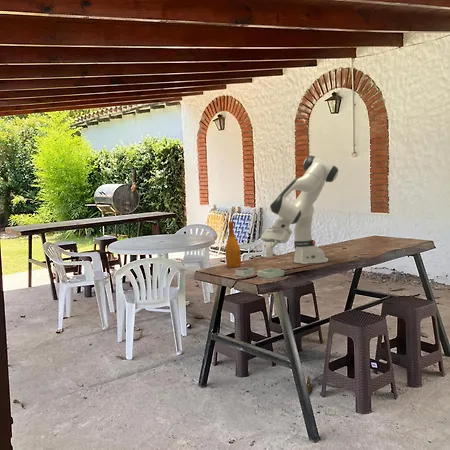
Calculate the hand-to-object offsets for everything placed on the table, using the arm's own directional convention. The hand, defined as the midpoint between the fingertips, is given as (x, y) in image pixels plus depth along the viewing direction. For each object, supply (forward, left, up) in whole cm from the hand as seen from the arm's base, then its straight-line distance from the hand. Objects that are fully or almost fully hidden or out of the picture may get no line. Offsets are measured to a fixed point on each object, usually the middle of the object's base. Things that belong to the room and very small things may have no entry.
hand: (268, 247), depth 298 cm
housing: (+16, -6, -17) cm, 24 cm away
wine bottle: (+28, -35, -17) cm, 48 cm away
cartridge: (0, 0, -5) cm, 5 cm away
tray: (0, -1, -17) cm, 17 cm away
